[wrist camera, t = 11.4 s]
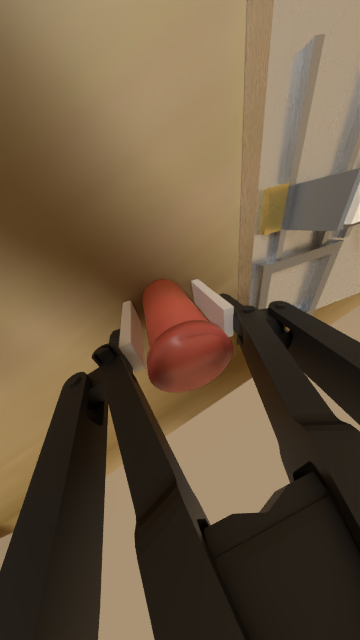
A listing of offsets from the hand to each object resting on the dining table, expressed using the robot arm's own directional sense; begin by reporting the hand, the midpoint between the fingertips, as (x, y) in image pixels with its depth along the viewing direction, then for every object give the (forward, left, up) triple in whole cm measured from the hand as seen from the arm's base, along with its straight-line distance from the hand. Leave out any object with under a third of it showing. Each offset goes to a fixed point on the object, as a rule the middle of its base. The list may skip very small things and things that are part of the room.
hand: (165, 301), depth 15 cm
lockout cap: (0, 0, 0) cm, 0 cm away
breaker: (-6, +14, +2) cm, 15 cm away
